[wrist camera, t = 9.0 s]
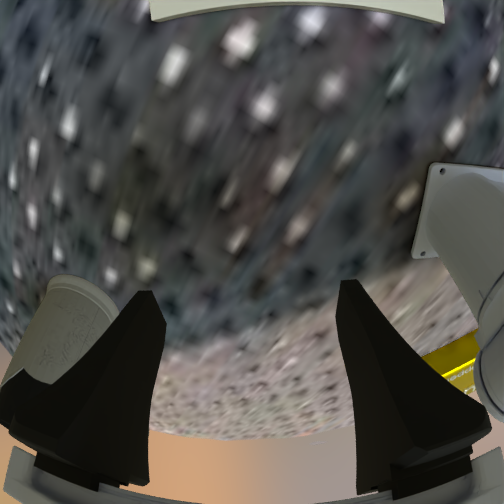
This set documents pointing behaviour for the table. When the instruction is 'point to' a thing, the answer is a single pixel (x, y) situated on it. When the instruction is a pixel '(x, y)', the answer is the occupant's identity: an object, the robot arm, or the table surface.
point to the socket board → (399, 3)
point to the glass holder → (55, 339)
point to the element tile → (456, 362)
